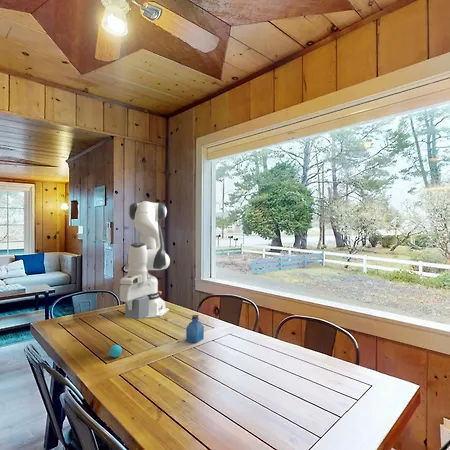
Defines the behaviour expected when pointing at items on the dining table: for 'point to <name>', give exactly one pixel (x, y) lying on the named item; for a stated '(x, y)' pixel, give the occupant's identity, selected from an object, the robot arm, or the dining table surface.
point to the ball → (115, 350)
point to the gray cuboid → (138, 308)
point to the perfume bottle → (195, 330)
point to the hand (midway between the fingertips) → (137, 307)
